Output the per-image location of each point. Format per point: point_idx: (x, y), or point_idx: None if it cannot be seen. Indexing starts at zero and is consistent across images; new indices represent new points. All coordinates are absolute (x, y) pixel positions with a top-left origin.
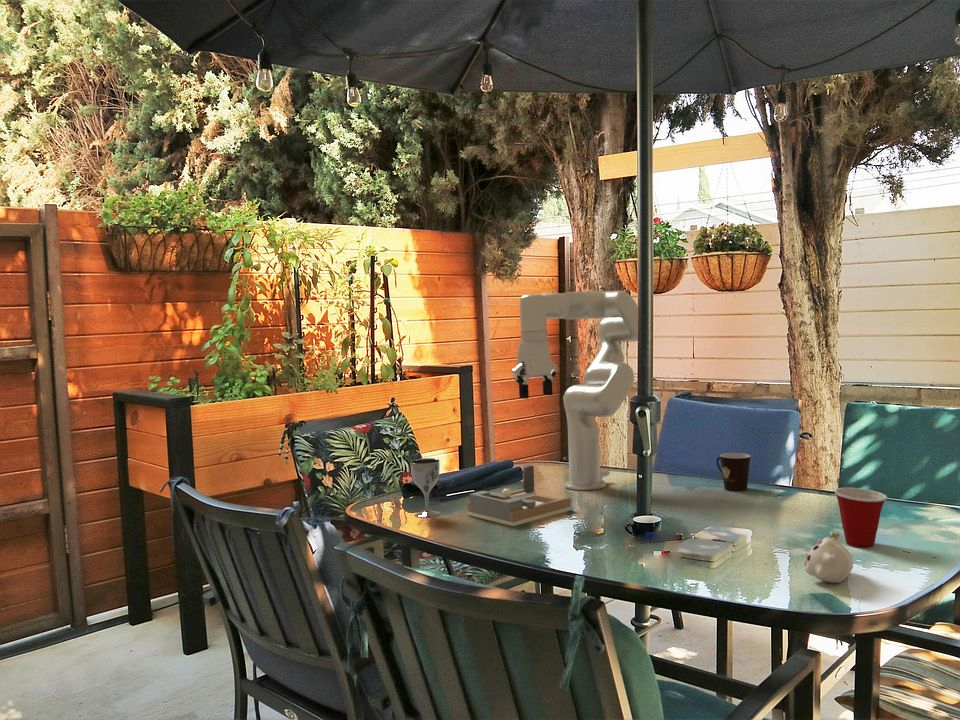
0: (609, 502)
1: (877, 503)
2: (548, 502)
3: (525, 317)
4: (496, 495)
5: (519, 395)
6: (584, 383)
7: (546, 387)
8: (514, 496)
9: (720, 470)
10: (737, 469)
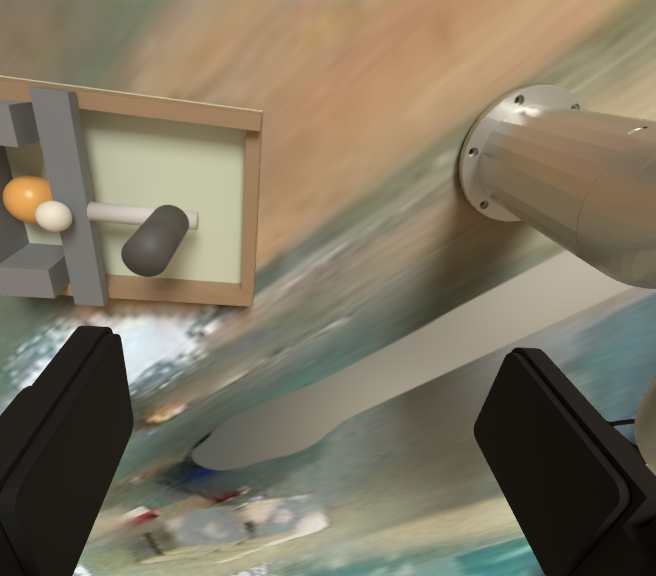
0: (371, 313)
1: None
2: (170, 295)
3: None
4: (48, 162)
5: (68, 342)
6: None
7: (536, 461)
8: (94, 220)
9: (631, 420)
10: None
